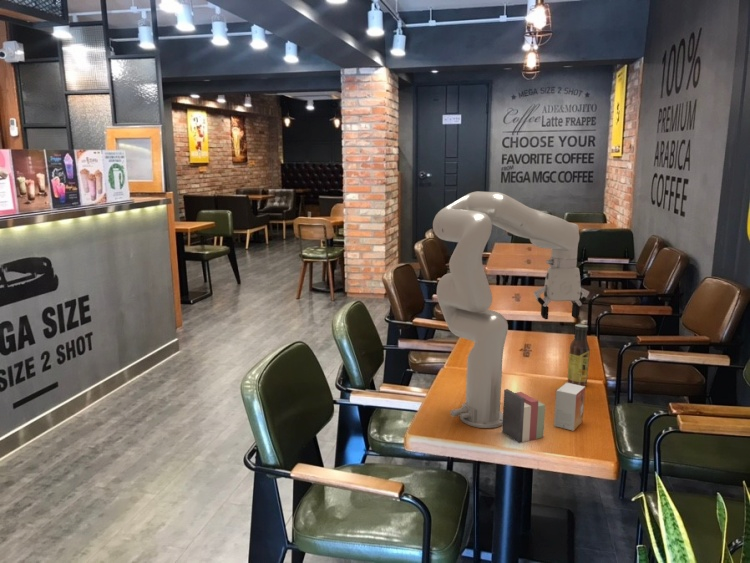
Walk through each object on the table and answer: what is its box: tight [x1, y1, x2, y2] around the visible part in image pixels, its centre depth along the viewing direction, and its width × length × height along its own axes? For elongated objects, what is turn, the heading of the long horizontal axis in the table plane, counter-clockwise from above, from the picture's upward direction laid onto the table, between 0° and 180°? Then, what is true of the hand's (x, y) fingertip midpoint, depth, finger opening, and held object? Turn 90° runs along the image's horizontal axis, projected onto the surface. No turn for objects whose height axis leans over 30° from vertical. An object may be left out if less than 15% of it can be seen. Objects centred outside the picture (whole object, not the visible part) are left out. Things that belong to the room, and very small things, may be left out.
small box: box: [553, 382, 586, 432], centre depth 160 cm, size 8×6×10 cm
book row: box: [501, 388, 546, 444], centre depth 153 cm, size 8×7×12 cm
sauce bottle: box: [567, 323, 591, 387], centre depth 190 cm, size 6×6×20 cm
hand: (559, 318), depth 180 cm, fingers open, 9 cm apart
